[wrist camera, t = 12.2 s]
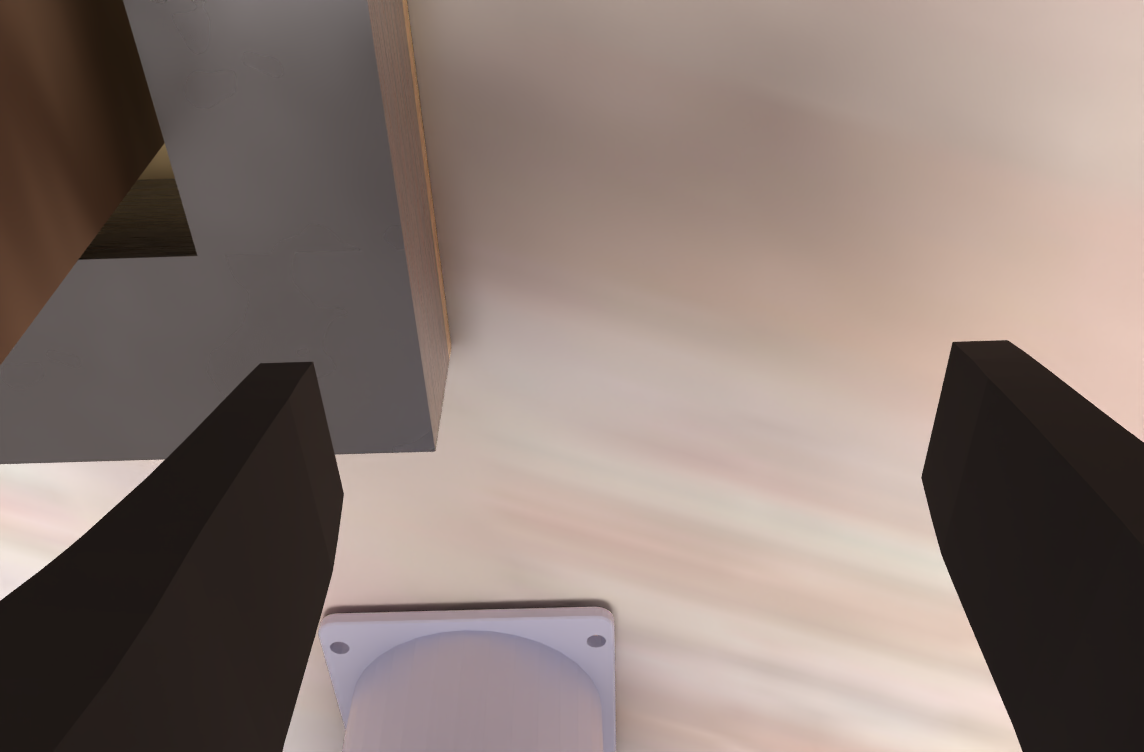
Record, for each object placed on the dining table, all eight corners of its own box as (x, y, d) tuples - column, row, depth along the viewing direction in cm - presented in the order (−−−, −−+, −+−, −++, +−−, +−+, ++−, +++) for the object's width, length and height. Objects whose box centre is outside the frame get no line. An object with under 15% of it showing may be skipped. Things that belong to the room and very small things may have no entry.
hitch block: (451, 346, 23) (435, 451, 20) (-130, 364, 23) (-227, 470, 20) (333, -569, 14) (274, -613, 11) (-621, -525, 14) (-919, -557, 11)
